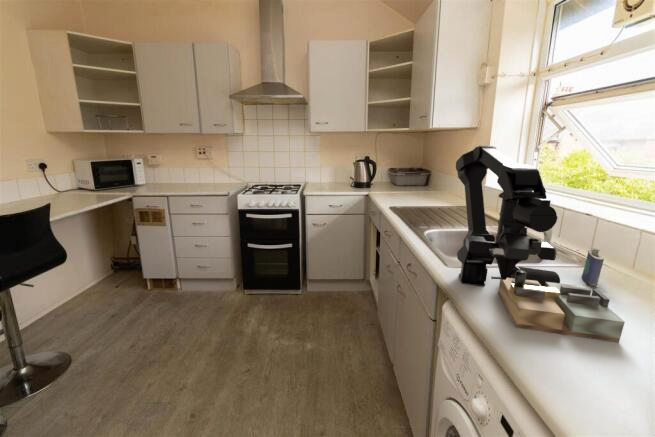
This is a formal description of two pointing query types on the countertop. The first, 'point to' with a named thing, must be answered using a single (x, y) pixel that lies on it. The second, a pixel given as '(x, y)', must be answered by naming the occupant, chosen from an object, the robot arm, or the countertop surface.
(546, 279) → the drinking cup
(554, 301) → the frame
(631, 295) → the countertop surface
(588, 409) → the countertop surface
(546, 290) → the bolt
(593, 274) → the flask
